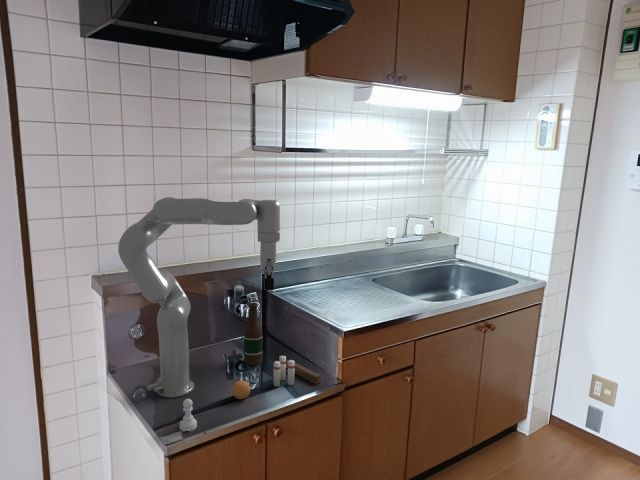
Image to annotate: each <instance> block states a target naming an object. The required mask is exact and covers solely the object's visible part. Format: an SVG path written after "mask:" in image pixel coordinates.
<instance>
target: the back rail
mask: <svg viewBox="0 0 640 480" xmlns="http://www.w3.org/2000/svg"><path fill="white" fill-rule="evenodd" d="M289 360H290V359H288V360H287V359H286V368H287V369H286V370H288V361H289ZM295 373H296V374H295V375H297V376H299V377H301V378H303V379H304V380H306V381H309V382H311V383H312V384H314V385H319V384H318V383H320V382H321V383H322V381H321V380H322V378H321V376H322V375H321V374H319V373H317V372H315V371H313V370H311V369H308V368H307V367H305V366H303V365H301V364H298V363H297V362H295ZM321 383H320V384H321Z"/></svg>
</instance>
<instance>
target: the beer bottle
mask: <svg viewBox="0 0 640 480" xmlns="http://www.w3.org/2000/svg"><path fill="white" fill-rule="evenodd" d="M263 339H264V337H263V328H262V326H261V324H260V323H259V318H258V303H257V302H250V303H249V304H248V321H247V324H246V325H245V327H244V330H243V361H244V364H245V365H248V366H258V365H261V364H262V363H263V358H264V357H263V355H264V354H263V352H264V351H263V347H264V346H263V345H264V344H263V342H264V341H263Z"/></svg>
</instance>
